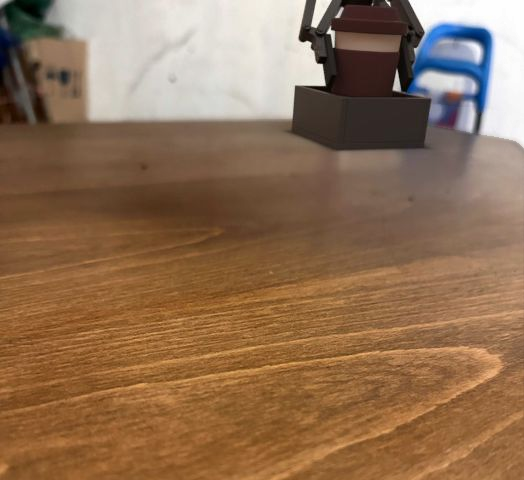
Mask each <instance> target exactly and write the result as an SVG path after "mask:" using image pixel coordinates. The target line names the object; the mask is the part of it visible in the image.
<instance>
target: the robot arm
mask: <svg viewBox="0 0 524 480" xmlns="http://www.w3.org/2000/svg"><path fill="white" fill-rule="evenodd" d="M316 4H317V0H305V4H304V9H303V13H302V18H301V23H300V28H299V31H298V32H299V33H298V37H297V39H298V41H299V42H301V43H306V42H308V43H310V50H312V51H313V54H314V61H315V63H316V64H317V65H322V70H323V77H324V86H326V89H332V86H333V84H334V81H335V79H336V76H337V71H336V65H335V58H334V51H333V48H334V45H333V40H332V38H333V37H332V33H329V30H330V29H331V20H332V18H337V16H338V14H339V13H340V11H341V9H344V7H345V6H346V5H361V6H378V7H393V8H397V10H398V14H399V18H400V21H401V22H407V23H408V26H407V33H406V35H402V36H401V41H400V47H399V52H400V55H399V61H398V66H397V71H396V72H397V75H398V81H399V82H398V83H399V87H400V92H404V93H408V90H409V89H410V86H411V85H412V83H413V81H414V79H415V75H414V70H413V65H414V64H415V62H416V59H417V58H416V52H415V49H417V48H418V47H419V46H420V44H421V42H422V40H423V38H424V36H425V34H426V31H425V29H424V27H423V25H422V23H421V22H420V19H419V18H418V16H417V14H416V12H415V10H414V8H413V6H412V4H411V2H410V0H331V1H330V2H329V4H328V6H327V8H326V10H325V12H324V14H323V15H322V17H321V19H320V21H319V22H318V24H317V26H316V27H315V26H312V24H313V18H314V13H315V9H316Z"/></svg>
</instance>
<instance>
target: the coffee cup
mask: <svg viewBox="0 0 524 480" xmlns="http://www.w3.org/2000/svg"><path fill="white" fill-rule="evenodd" d="M407 26H408V23H407V22H401V21H400V18H399V14H398V10H397V8H393V7H391V6H390V7H378V6H361V5H346V6H345V7H344V8H342V11H341V14H340V16H339V17H335V18H332V20H331V26H330V31H333V32H334V45H333V51H334V58H335V65H336V71H337V76H336V79H335V81H334V84H333V86H332V89H331V92H332V93H333V94H334V95H338V96H342V97H377V98H390V97H391V96H392V91H393V90H394V86H395V81H396V75H397V72H398V71H397V66H398V61H399V55H400V52H399V47H400V41H401V36H402V35H406V33H407Z"/></svg>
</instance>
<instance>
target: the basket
mask: <svg viewBox="0 0 524 480" xmlns="http://www.w3.org/2000/svg"><path fill="white" fill-rule="evenodd" d="M293 91H294V92H293V93H294V94H293V106H292V121H291V133H293V134H294V135H298V136H299V137H302V138H305V139H307V140H311V141H312V142H315V143H318V144H319V145H323V146H325V147H328V148H330V149H333V150H335V151H362V150H397V149H400V150H402V149H424V148H425V142H426V136H427V130H428V124H429V116H430V112H431V105H432V98H430V97H425V96H421V95H417V94H412V93H408V92H401V91H399V90H394V89H393V91H392V96H391V97H390V98H377V97H342V96H338V95H334V94H333V93H332V92H331V89H326V85H305V84H304V85H302V84H299V85H294V90H293Z"/></svg>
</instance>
